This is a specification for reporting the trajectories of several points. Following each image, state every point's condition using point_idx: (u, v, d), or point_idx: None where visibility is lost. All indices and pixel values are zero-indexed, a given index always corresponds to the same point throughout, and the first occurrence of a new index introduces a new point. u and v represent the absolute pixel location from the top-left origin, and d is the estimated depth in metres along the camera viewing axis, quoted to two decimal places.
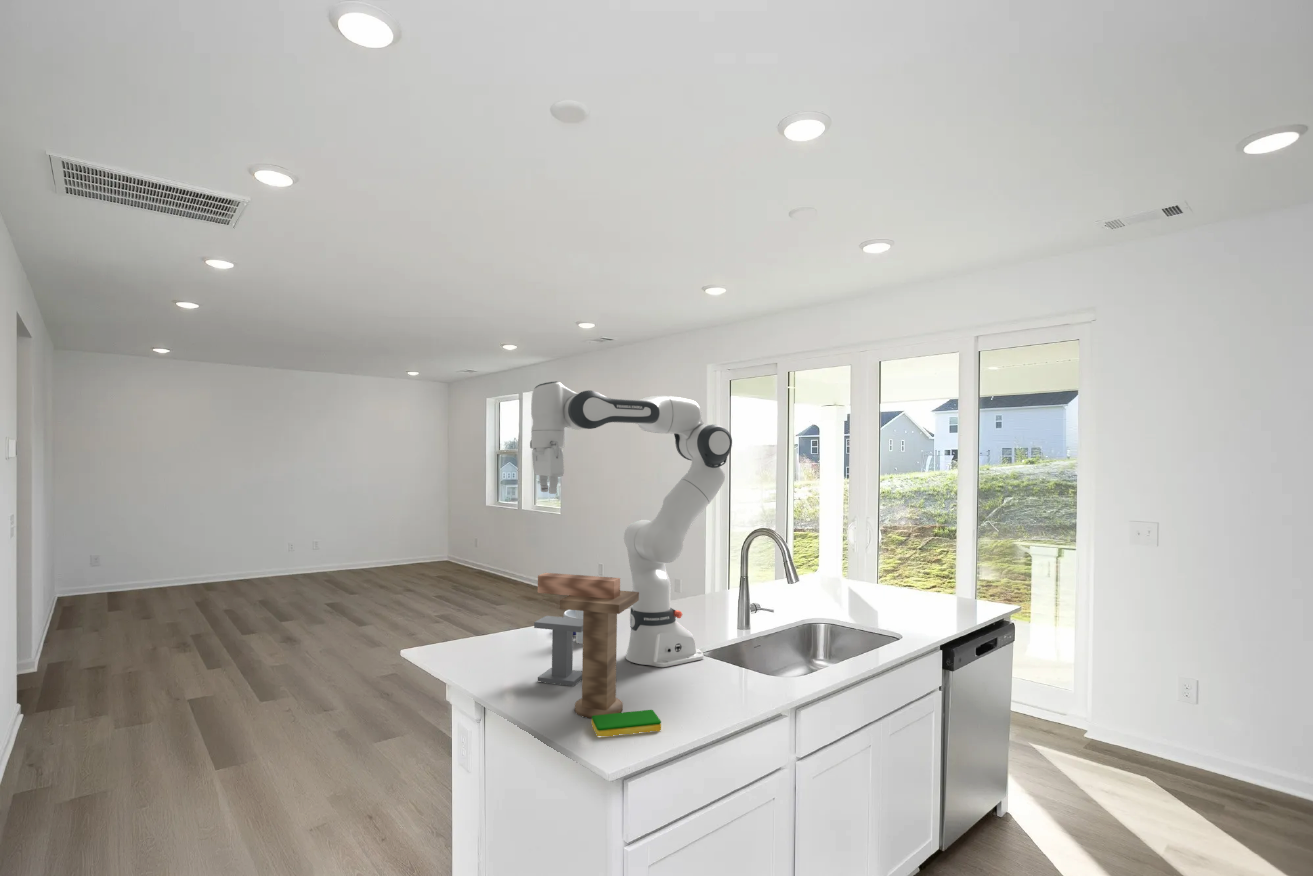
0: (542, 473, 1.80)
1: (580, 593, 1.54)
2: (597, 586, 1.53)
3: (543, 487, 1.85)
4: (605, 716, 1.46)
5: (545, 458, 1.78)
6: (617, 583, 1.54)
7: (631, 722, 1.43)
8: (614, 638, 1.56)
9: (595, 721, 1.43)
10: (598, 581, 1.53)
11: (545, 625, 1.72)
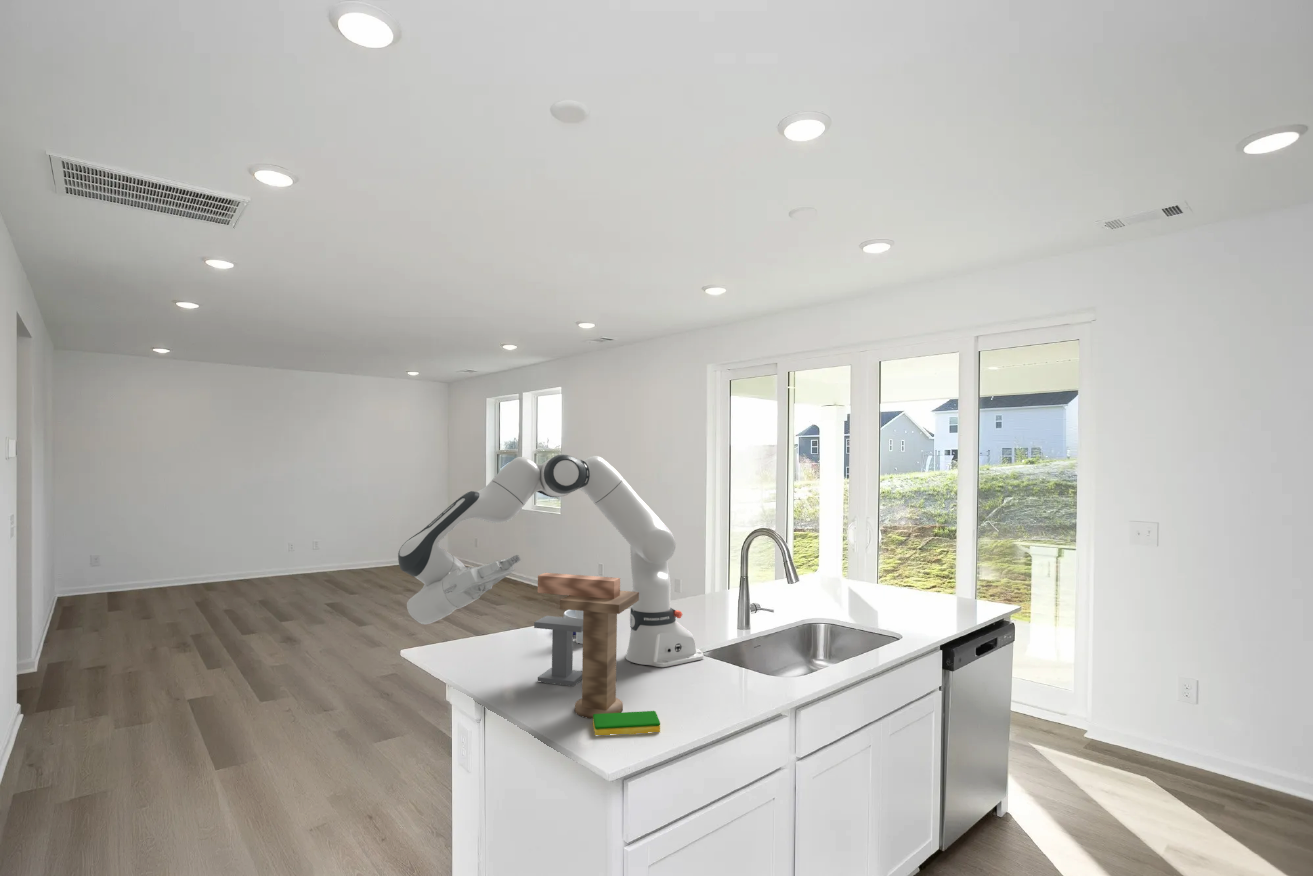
0: (493, 577, 1.62)
1: (580, 593, 1.54)
2: (597, 586, 1.53)
3: (513, 562, 1.66)
4: (606, 715, 1.46)
5: None
6: (617, 583, 1.54)
7: (630, 722, 1.43)
8: (614, 638, 1.56)
9: (595, 719, 1.44)
10: (598, 581, 1.53)
11: (545, 625, 1.72)
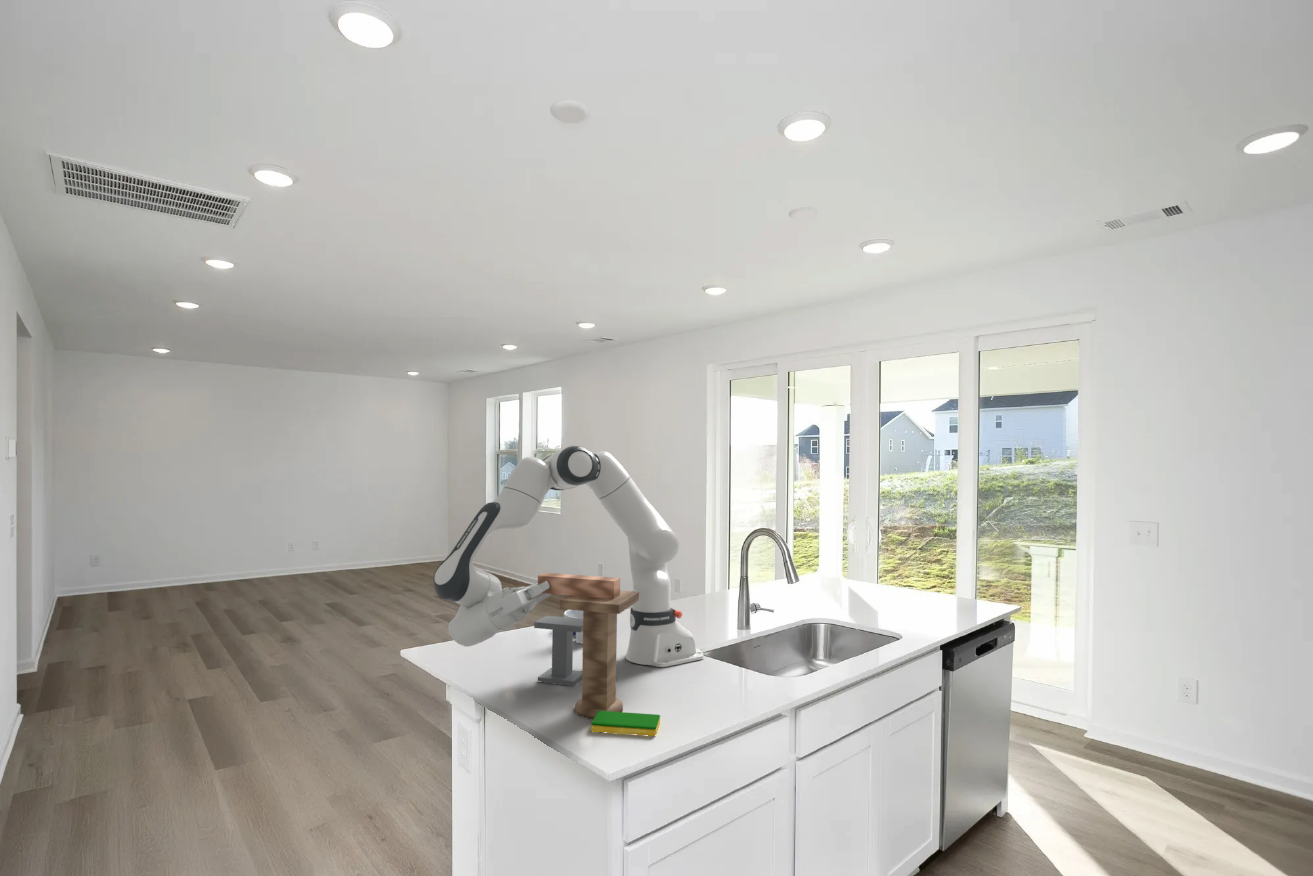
0: (538, 599, 1.59)
1: (580, 593, 1.54)
2: (597, 586, 1.53)
3: None
4: (609, 713, 1.47)
5: None
6: (617, 583, 1.54)
7: (626, 723, 1.42)
8: (614, 638, 1.56)
9: (596, 716, 1.46)
10: (598, 581, 1.53)
11: (545, 625, 1.72)
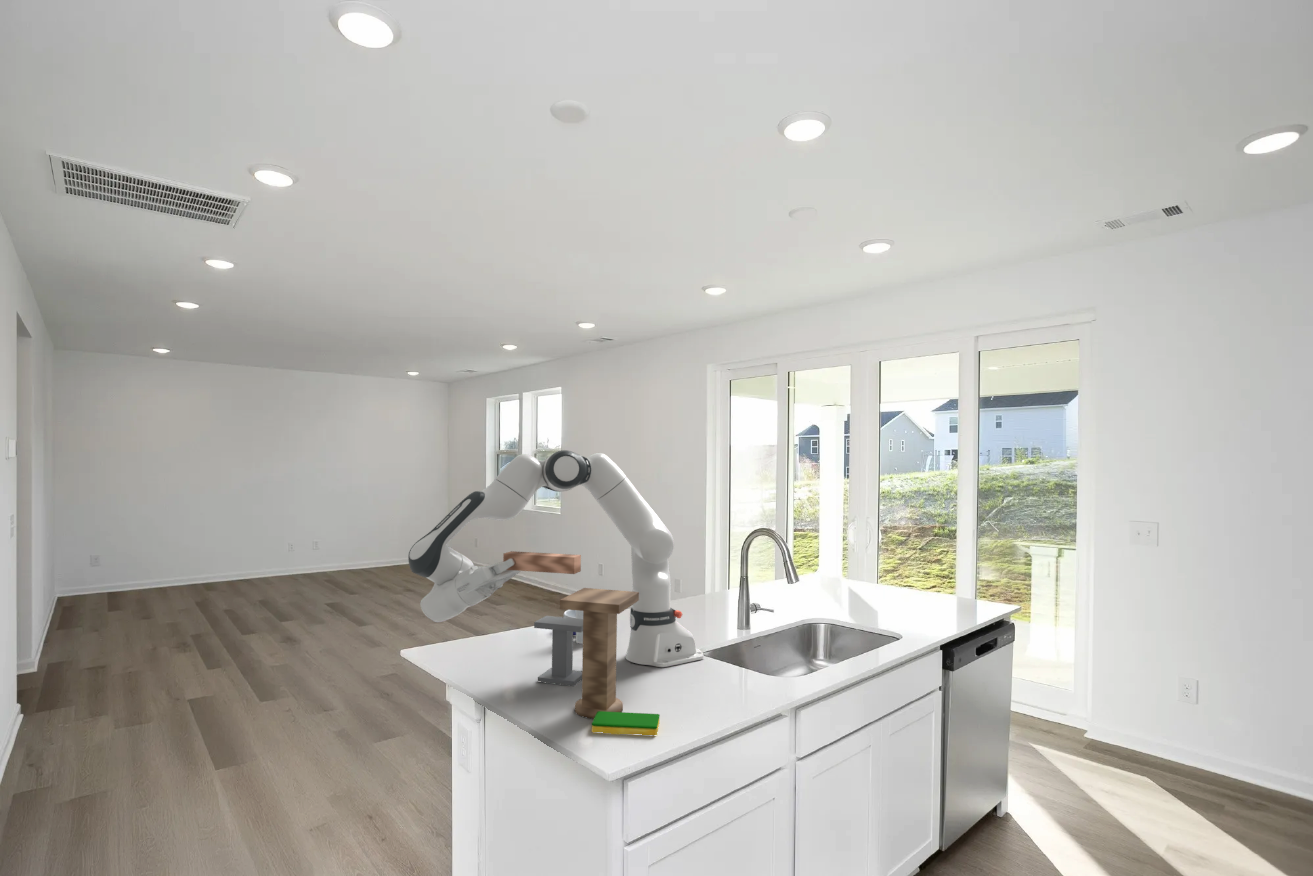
0: (504, 575, 1.68)
1: (543, 569, 1.64)
2: (559, 562, 1.62)
3: None
4: (609, 713, 1.47)
5: None
6: (577, 560, 1.63)
7: (627, 723, 1.42)
8: (614, 638, 1.56)
9: (595, 716, 1.46)
10: (559, 557, 1.62)
11: (545, 625, 1.72)
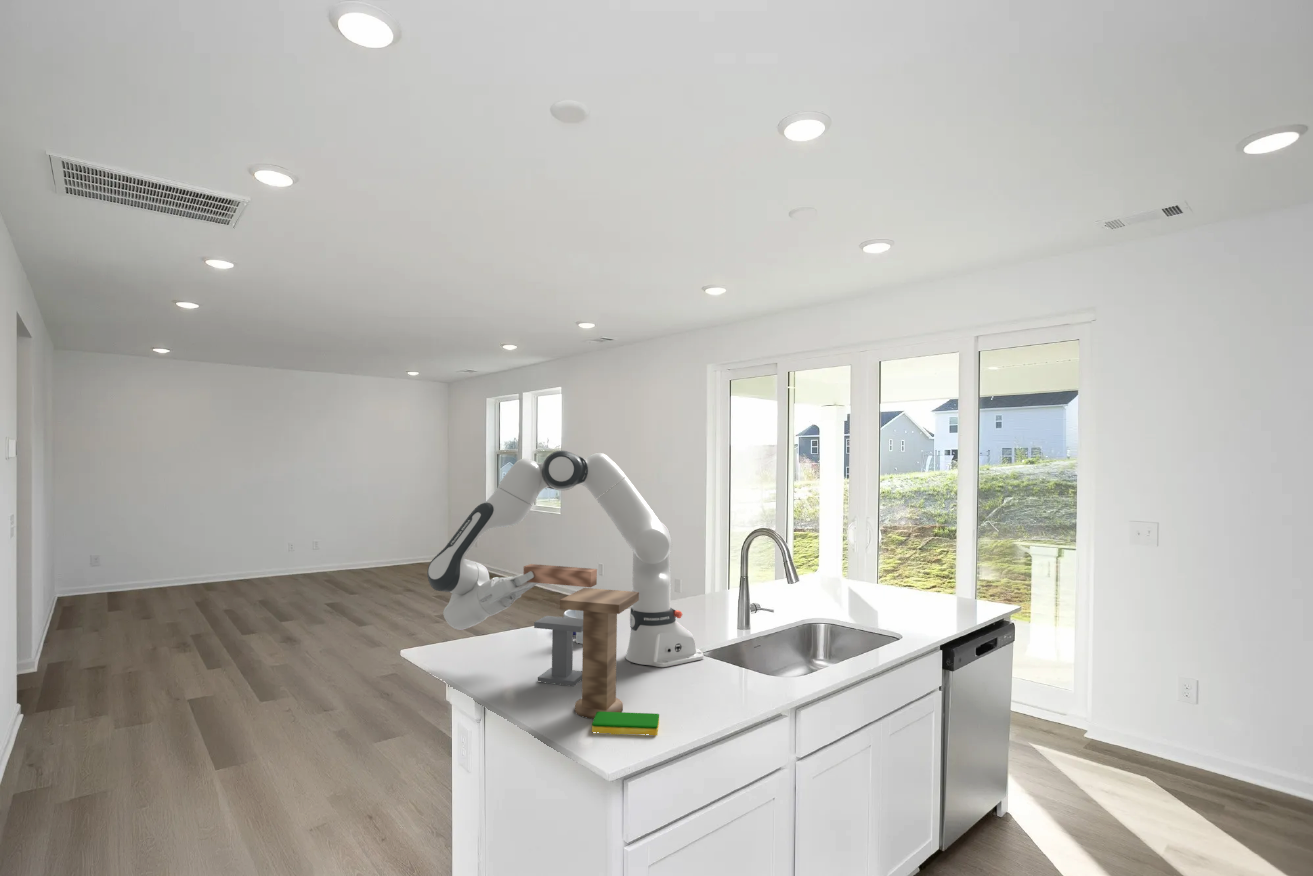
0: (523, 587, 1.77)
1: (561, 582, 1.73)
2: (576, 576, 1.72)
3: None
4: (608, 713, 1.47)
5: (506, 595, 1.76)
6: (594, 574, 1.73)
7: (627, 723, 1.42)
8: (614, 638, 1.56)
9: (595, 717, 1.45)
10: (577, 571, 1.72)
11: (545, 625, 1.72)
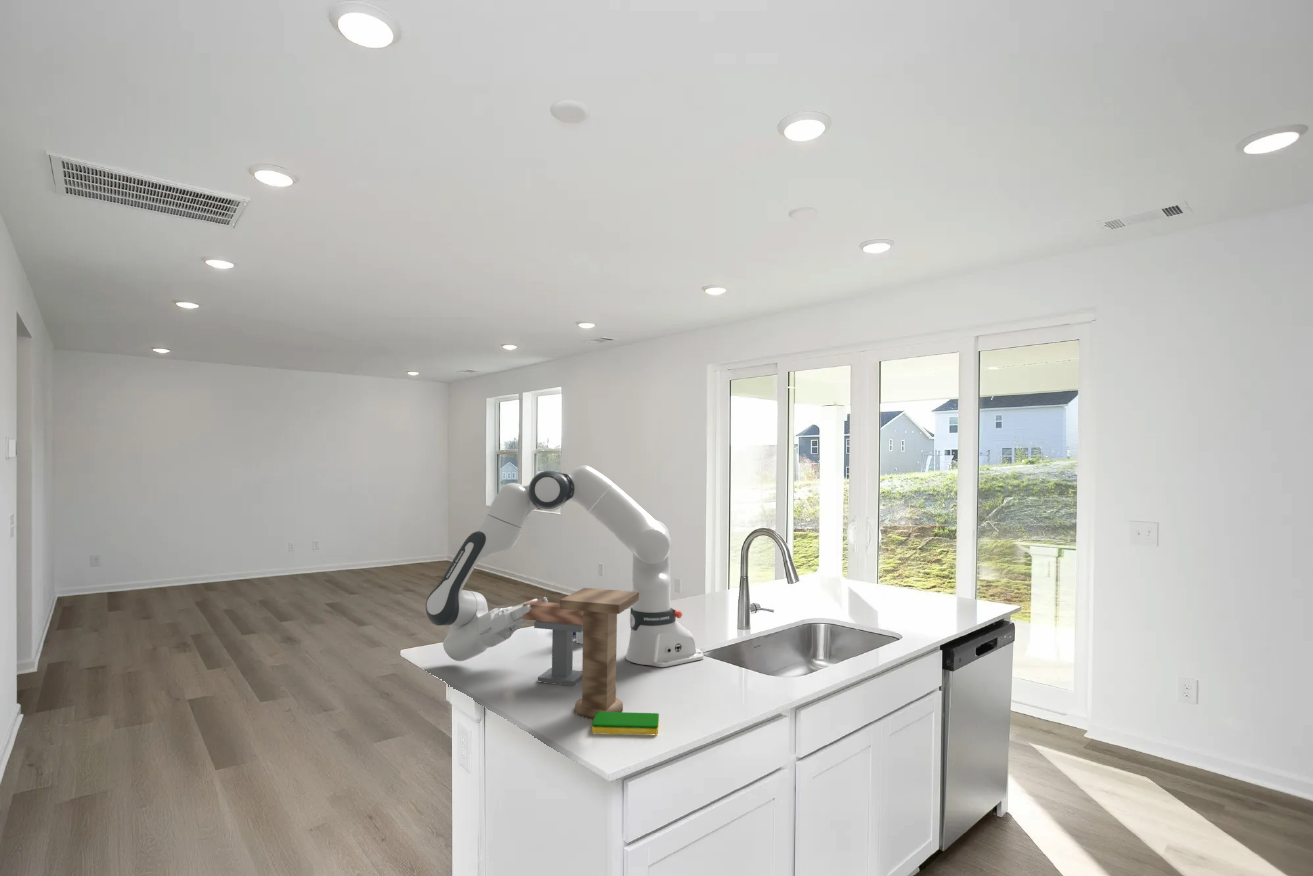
0: (523, 619, 1.77)
1: (560, 620, 1.73)
2: (575, 614, 1.72)
3: None
4: (608, 714, 1.47)
5: (506, 627, 1.76)
6: None
7: (628, 723, 1.42)
8: (614, 638, 1.56)
9: (595, 717, 1.45)
10: None
11: (545, 625, 1.72)
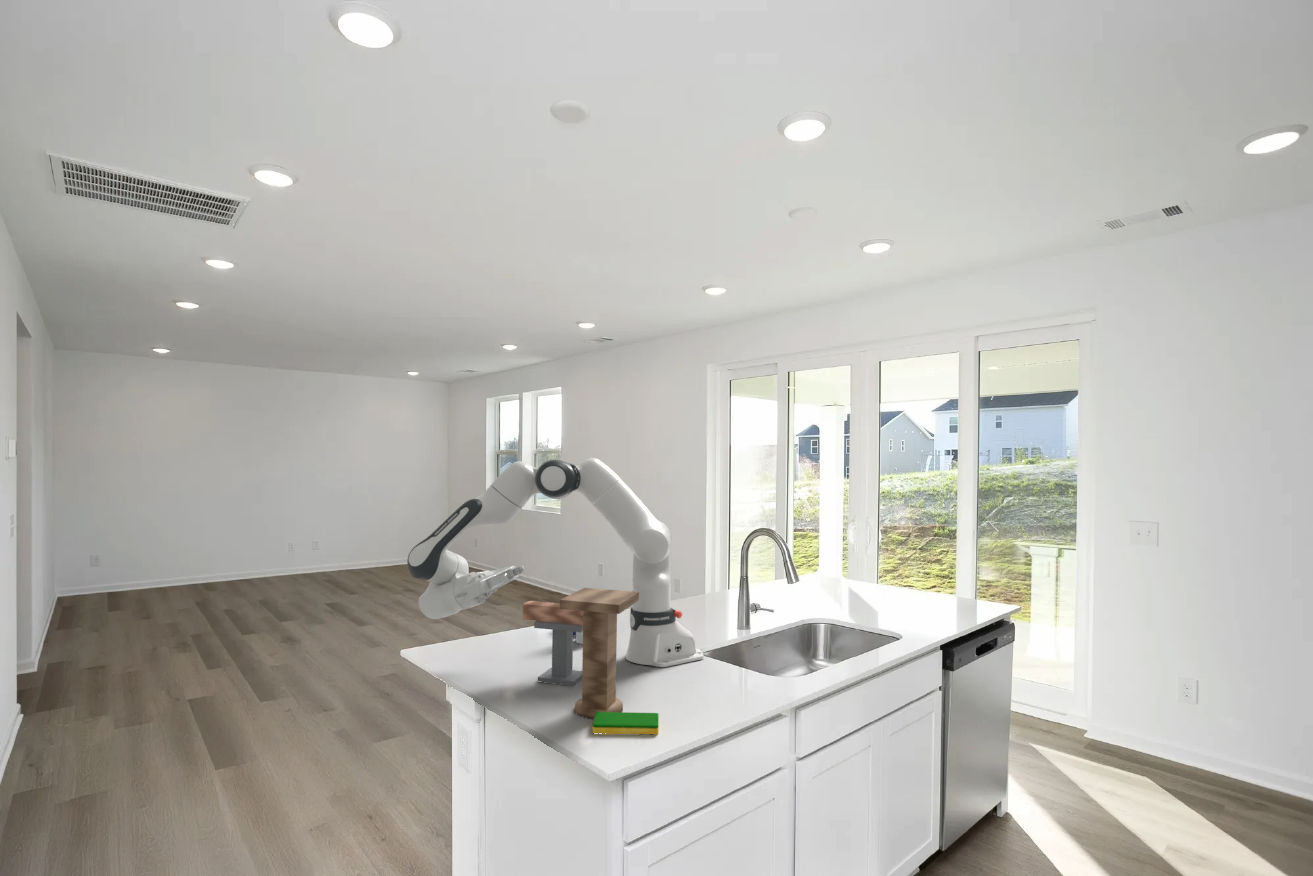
0: (499, 586, 1.79)
1: (560, 620, 1.73)
2: (575, 614, 1.72)
3: (518, 572, 1.83)
4: (608, 714, 1.47)
5: None
6: None
7: (628, 723, 1.42)
8: (614, 638, 1.56)
9: (595, 717, 1.45)
10: None
11: (545, 625, 1.72)
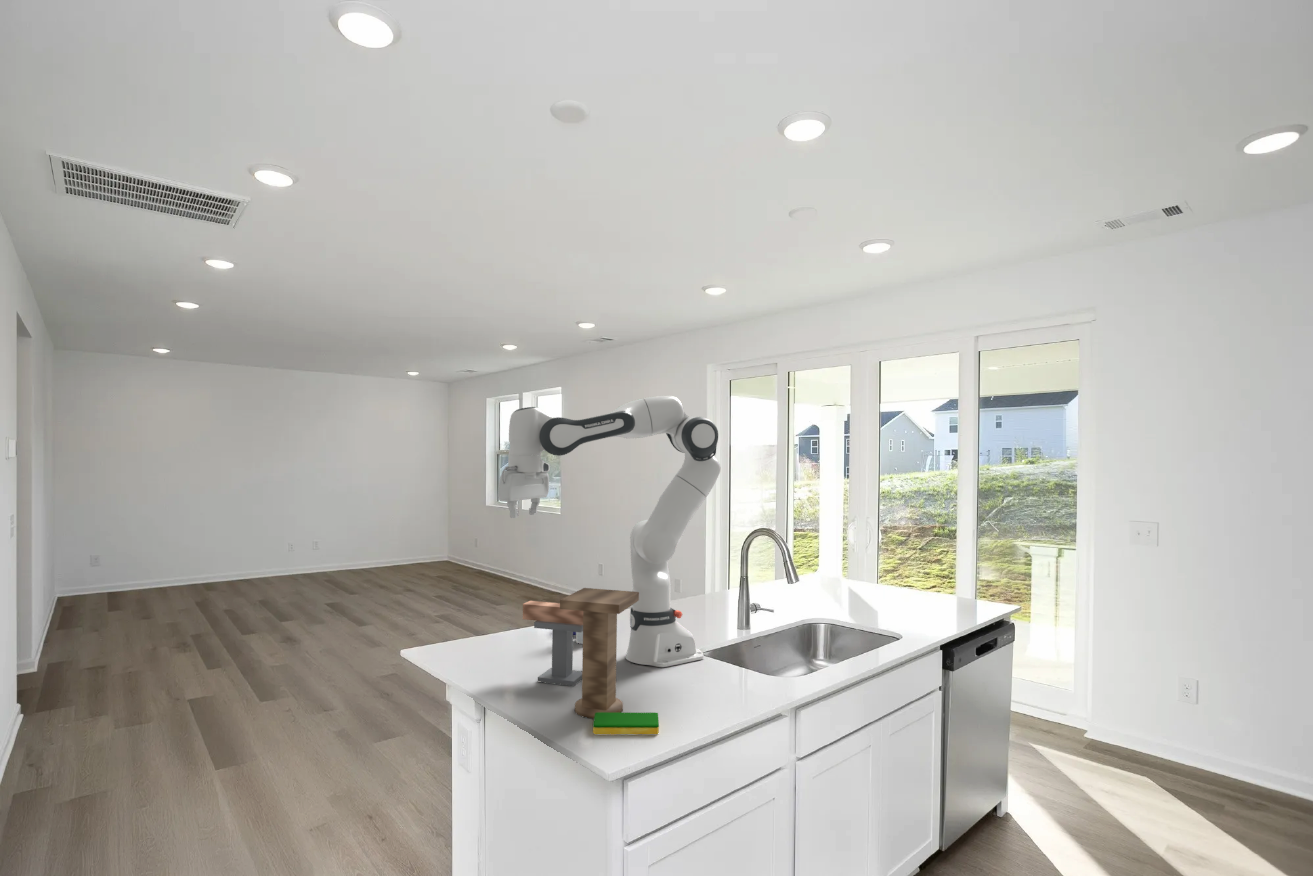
0: None
1: (560, 620, 1.73)
2: (575, 614, 1.72)
3: (530, 510, 1.89)
4: (607, 714, 1.47)
5: None
6: None
7: (628, 722, 1.42)
8: (614, 638, 1.56)
9: (595, 718, 1.45)
10: None
11: (545, 625, 1.72)
